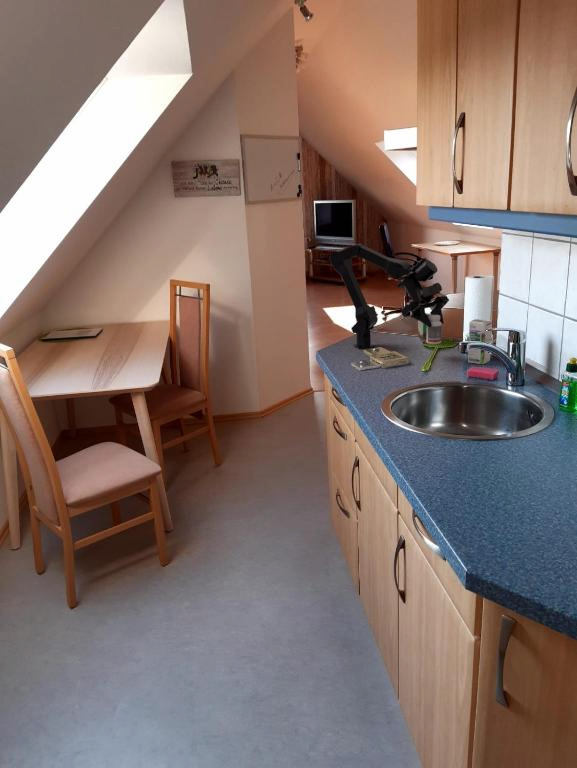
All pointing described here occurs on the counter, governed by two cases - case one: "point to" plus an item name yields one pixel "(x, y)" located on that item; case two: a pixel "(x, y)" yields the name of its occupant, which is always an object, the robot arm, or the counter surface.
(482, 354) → the syrup box
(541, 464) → the counter surface
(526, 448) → the counter surface
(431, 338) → the pill bottle
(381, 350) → the beige flat piece
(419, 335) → the food container
